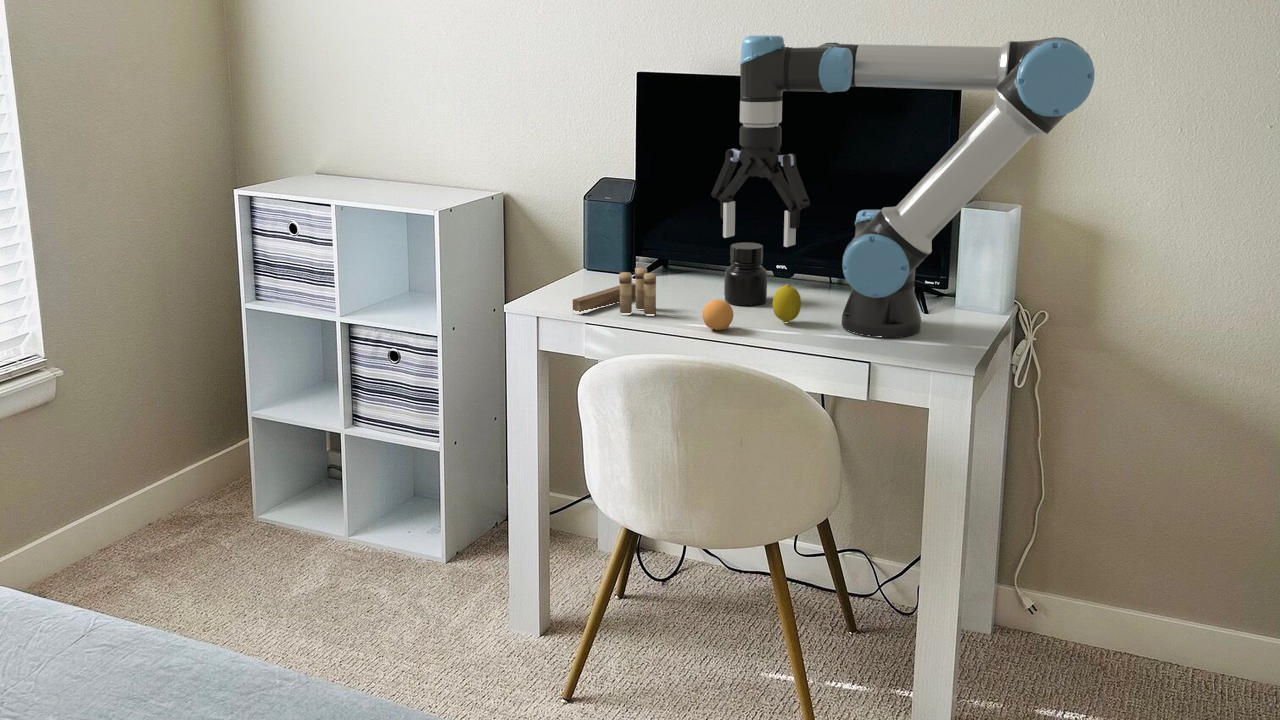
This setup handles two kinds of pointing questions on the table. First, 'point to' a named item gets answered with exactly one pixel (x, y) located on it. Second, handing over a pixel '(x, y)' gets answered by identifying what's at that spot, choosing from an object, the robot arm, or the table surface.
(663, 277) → the table surface
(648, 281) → the pin front
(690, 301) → the table surface
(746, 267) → the ink bottle
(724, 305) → the ball
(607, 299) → the rail
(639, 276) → the pin
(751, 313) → the table surface
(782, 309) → the lemon
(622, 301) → the pin
